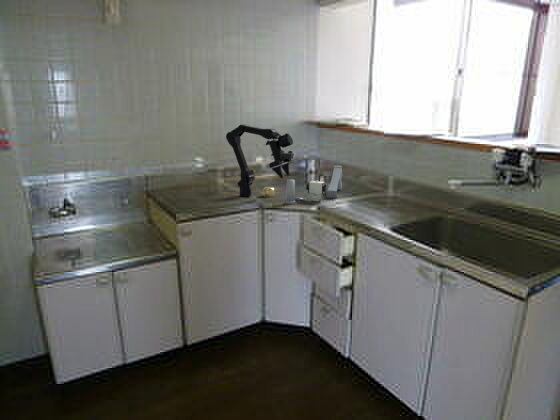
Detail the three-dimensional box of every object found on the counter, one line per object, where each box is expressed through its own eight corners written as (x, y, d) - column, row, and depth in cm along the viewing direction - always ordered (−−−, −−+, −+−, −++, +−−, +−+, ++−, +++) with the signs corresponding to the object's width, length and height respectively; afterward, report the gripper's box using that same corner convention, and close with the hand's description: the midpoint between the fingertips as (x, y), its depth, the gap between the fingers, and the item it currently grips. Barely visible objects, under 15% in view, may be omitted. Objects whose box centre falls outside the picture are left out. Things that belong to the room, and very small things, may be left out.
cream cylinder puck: (262, 196, 230) (262, 188, 228) (265, 194, 236) (265, 186, 235) (272, 197, 228) (272, 189, 227) (275, 195, 234) (275, 187, 233)
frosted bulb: (284, 204, 211) (284, 180, 208) (286, 202, 216) (286, 179, 213) (294, 204, 210) (294, 181, 207) (296, 202, 215) (296, 179, 212)
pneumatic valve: (324, 202, 215) (325, 181, 212) (305, 200, 220) (306, 179, 217) (328, 200, 219) (329, 180, 216) (309, 198, 225) (310, 178, 222)
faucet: (337, 212, 233) (343, 183, 255) (336, 190, 223) (343, 162, 245) (327, 212, 235) (334, 183, 257) (326, 190, 224) (333, 162, 246)
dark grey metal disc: (292, 200, 220) (292, 198, 219) (294, 198, 226) (294, 196, 226) (303, 201, 218) (303, 199, 218) (305, 198, 224) (305, 197, 224)
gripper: (282, 147, 205) (291, 175, 207) (295, 144, 221) (303, 170, 223) (264, 153, 210) (273, 181, 212) (278, 150, 226) (287, 175, 228)
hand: (285, 176), depth 218 cm, fingers open, 9 cm apart
